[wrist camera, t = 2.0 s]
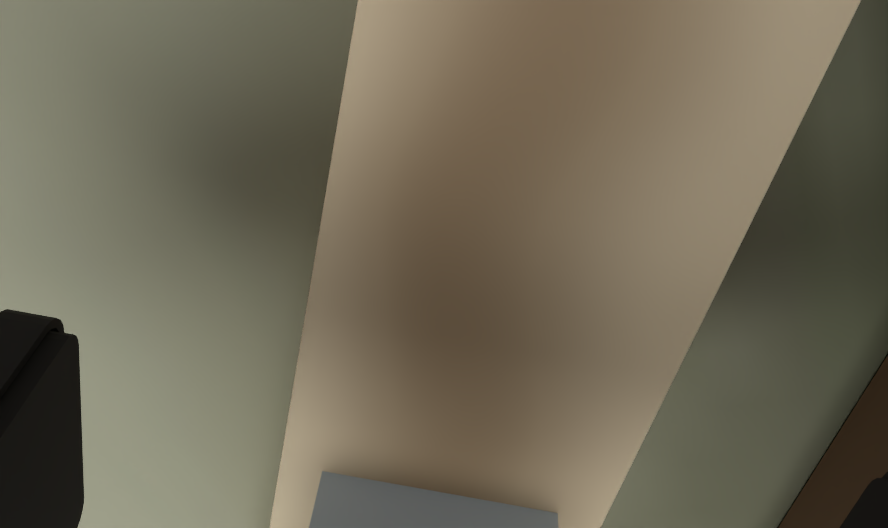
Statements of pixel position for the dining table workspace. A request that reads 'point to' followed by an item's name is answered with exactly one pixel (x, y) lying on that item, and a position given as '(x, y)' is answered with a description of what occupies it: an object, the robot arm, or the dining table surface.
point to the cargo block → (412, 508)
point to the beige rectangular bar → (533, 234)
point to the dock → (847, 462)
